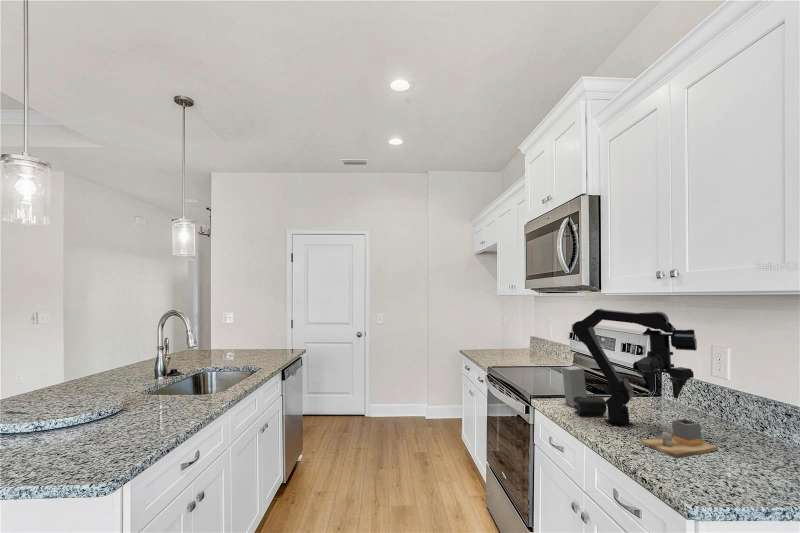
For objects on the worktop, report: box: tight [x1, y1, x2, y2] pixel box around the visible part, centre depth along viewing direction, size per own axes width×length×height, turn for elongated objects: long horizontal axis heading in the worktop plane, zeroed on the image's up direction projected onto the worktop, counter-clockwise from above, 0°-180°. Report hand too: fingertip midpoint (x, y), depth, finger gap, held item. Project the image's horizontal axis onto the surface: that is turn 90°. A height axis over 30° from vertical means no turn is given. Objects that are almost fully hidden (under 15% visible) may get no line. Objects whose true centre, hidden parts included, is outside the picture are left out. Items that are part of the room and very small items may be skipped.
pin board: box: [639, 431, 719, 459], centre depth 123 cm, size 12×16×4 cm
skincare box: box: [561, 365, 588, 408], centre depth 172 cm, size 8×7×16 cm
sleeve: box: [671, 418, 703, 446], centre depth 125 cm, size 5×5×6 cm
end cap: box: [573, 395, 608, 416], centre depth 158 cm, size 10×7×7 cm
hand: (663, 395), depth 138 cm, fingers open, 9 cm apart
